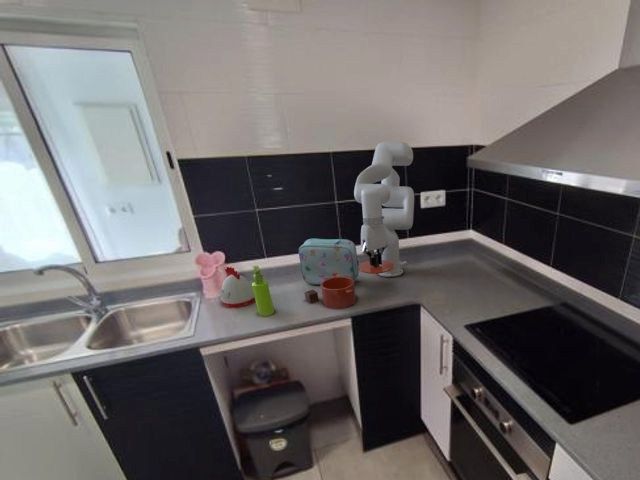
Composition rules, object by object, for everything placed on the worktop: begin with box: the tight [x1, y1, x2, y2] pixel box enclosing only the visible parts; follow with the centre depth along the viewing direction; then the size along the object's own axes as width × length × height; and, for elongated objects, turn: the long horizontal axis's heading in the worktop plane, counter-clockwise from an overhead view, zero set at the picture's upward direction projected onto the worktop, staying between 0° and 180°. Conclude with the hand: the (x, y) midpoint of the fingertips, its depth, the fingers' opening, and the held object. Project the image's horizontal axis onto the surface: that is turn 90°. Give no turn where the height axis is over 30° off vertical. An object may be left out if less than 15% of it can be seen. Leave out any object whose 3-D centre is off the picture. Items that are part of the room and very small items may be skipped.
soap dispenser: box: [252, 265, 275, 317], centre depth 149 cm, size 6×7×20 cm
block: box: [304, 289, 320, 304], centre depth 162 cm, size 4×4×4 cm
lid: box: [358, 252, 394, 275], centre depth 157 cm, size 15×15×7 cm
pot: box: [320, 277, 357, 310], centre depth 160 cm, size 14×19×8 cm
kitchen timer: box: [219, 266, 256, 308], centre depth 161 cm, size 14×14×15 cm
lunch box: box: [298, 238, 361, 286], centre depth 175 cm, size 27×10×21 cm, turn 84°
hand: (376, 264), depth 158 cm, fingers closed on lid, 2 cm apart
